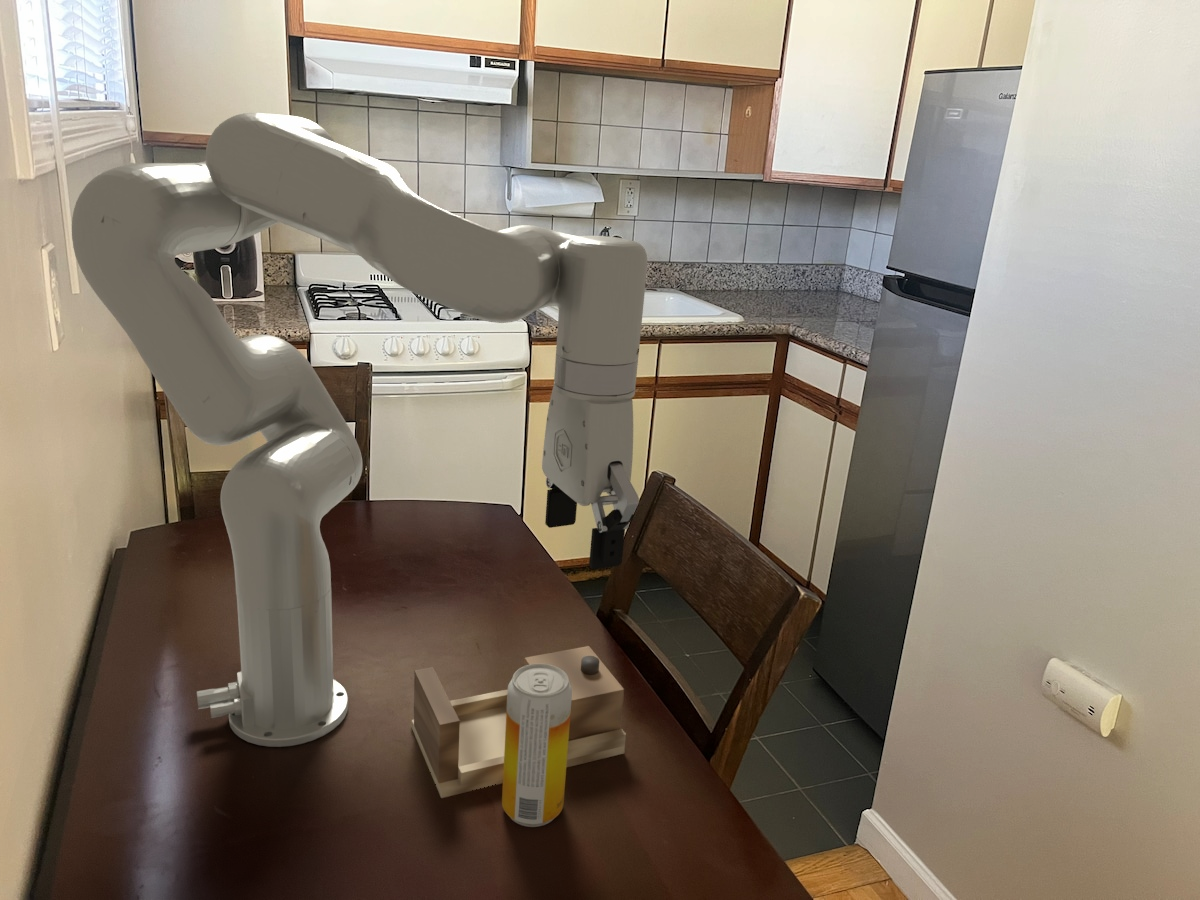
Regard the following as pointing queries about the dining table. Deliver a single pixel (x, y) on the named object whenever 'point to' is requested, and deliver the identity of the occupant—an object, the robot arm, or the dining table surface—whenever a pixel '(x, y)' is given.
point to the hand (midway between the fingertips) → (581, 544)
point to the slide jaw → (587, 691)
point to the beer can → (536, 744)
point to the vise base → (479, 737)
